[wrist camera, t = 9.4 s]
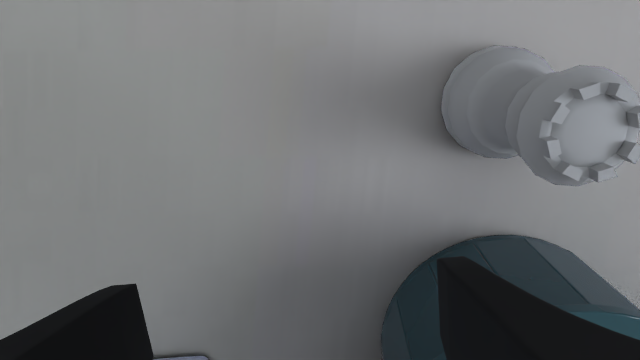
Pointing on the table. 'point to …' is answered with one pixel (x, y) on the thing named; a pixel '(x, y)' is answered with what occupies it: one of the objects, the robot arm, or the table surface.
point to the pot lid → (600, 319)
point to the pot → (503, 260)
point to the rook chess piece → (543, 114)
